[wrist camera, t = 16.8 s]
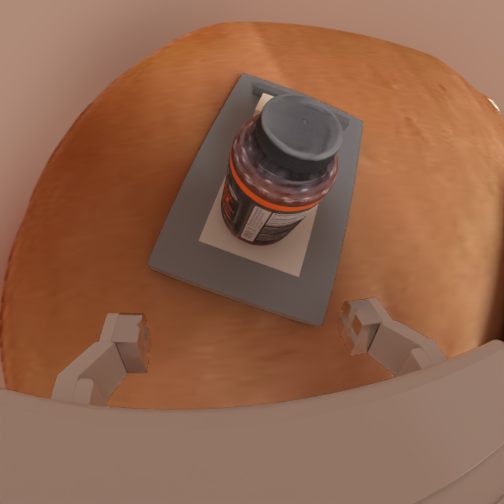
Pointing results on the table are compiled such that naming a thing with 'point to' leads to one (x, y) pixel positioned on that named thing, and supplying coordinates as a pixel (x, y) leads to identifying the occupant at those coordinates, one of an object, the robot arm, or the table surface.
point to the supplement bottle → (280, 168)
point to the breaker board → (247, 255)
